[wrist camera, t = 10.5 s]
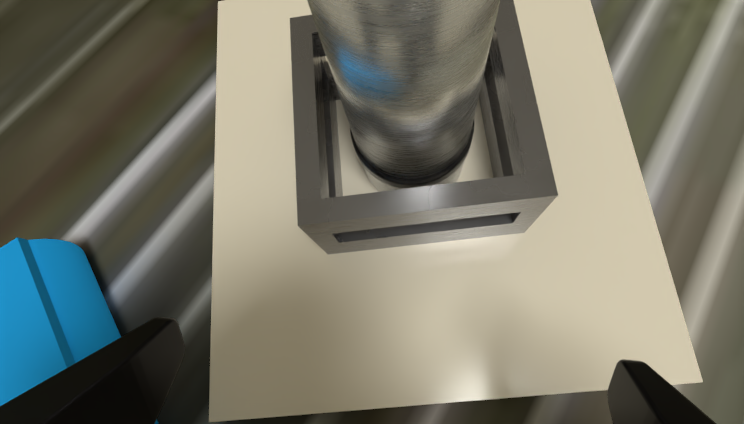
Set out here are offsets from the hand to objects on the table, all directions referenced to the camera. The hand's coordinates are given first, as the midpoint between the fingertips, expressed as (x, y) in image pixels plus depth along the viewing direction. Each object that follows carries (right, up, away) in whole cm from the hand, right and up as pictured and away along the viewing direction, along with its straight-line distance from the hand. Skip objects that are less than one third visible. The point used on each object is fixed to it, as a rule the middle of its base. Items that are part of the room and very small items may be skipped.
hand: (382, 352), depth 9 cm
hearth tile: (+2, +5, +11) cm, 12 cm away
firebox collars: (+2, +5, +11) cm, 12 cm away
